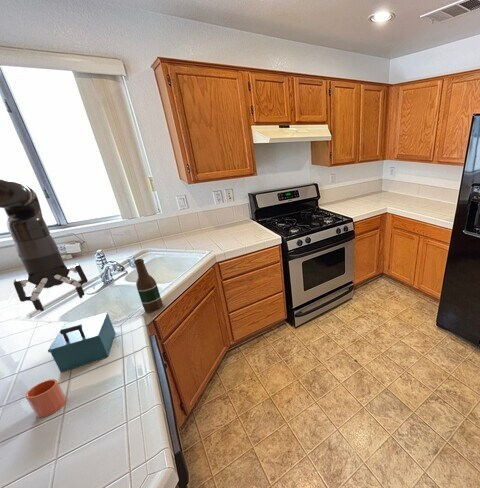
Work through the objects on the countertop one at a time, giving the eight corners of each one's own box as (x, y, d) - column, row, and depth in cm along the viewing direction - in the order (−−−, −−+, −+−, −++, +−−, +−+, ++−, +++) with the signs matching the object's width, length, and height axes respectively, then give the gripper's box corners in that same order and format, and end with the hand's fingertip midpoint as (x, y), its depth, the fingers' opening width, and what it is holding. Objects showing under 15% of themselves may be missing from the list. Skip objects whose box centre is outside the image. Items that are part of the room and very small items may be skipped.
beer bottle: (167, 304, 123) (152, 257, 115) (150, 313, 116) (134, 264, 108) (156, 301, 126) (142, 255, 118) (140, 310, 119) (123, 262, 112)
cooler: (108, 356, 91) (99, 336, 89) (60, 372, 86) (49, 351, 83) (115, 333, 104) (108, 314, 101) (74, 345, 99) (65, 325, 96)
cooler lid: (99, 337, 88) (93, 323, 86) (48, 352, 82) (41, 338, 80) (108, 314, 101) (103, 302, 100) (65, 325, 96) (59, 313, 94)
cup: (32, 421, 69) (21, 401, 67) (41, 404, 74) (31, 385, 72) (62, 410, 72) (52, 390, 70) (69, 394, 77) (60, 375, 75)
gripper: (72, 243, 80) (90, 290, 86) (1, 258, 70) (27, 310, 76) (75, 248, 76) (95, 297, 81) (0, 264, 66) (28, 319, 71)
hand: (62, 303), depth 78 cm, fingers open, 8 cm apart
